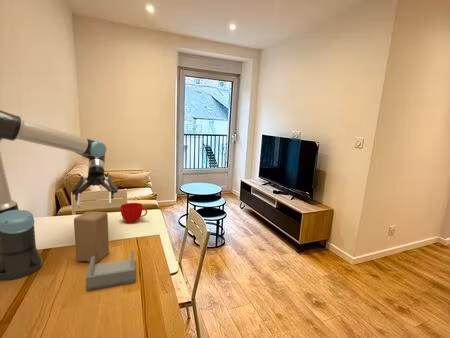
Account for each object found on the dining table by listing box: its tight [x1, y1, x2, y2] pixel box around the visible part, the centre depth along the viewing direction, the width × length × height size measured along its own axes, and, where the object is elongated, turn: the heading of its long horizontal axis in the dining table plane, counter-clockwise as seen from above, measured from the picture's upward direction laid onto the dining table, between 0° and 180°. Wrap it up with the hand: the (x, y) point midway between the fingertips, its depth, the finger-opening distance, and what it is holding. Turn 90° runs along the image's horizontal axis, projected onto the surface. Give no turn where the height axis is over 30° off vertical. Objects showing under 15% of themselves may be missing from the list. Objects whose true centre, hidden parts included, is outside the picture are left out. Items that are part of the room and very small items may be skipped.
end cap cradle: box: [85, 250, 136, 292], centre depth 99 cm, size 16×16×5 cm
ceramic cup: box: [119, 202, 148, 224], centre depth 157 cm, size 13×17×10 cm
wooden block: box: [73, 210, 110, 263], centre depth 111 cm, size 10×10×20 cm
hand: (94, 205), depth 120 cm, fingers open, 13 cm apart
